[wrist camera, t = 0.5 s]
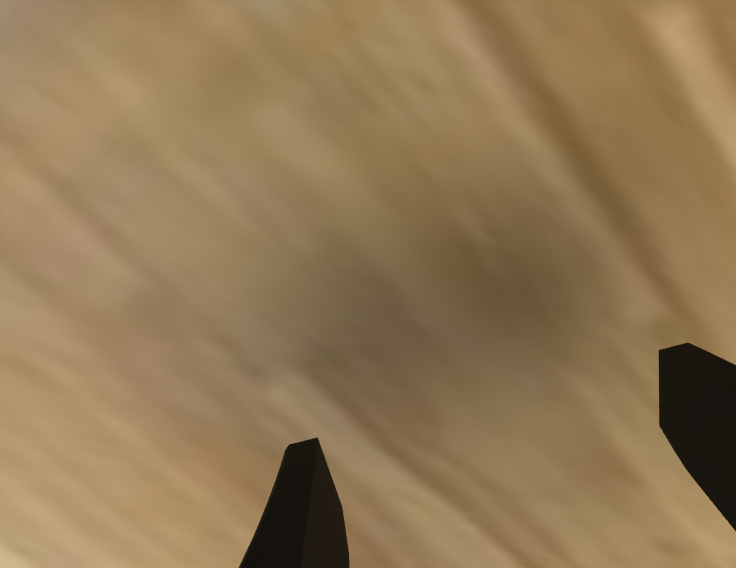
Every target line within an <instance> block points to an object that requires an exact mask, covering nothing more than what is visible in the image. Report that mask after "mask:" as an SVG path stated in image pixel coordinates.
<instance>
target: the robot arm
mask: <svg viewBox="0 0 736 568" xmlns="http://www.w3.org/2000/svg"><path fill="white" fill-rule="evenodd" d="M659 426H660V428H661V429H662V431H663V433H664V434H665V436H666V438H667V439H668V441H669V443H670V444H671V446H672V448H673V449H674V451H675V453H676V454H677V456H678V457H679V459H680V460H681V462H682V464H683V465H684V467H685V468H686V470H687V471H688V472H689V473H690V475H691V476H692V477H693V479H694V480H695V481H696V482H697V484H698V485H699V486H700V487H701V489H702V490H703V491H704V492H705V494H706V495H707V496H708V497H709V499H710V500H711V501H712V502H713V504H714V505H715V506H716V507H717V509H718V510H719V511H720V512H721V514H722V515H723V516H724V517H725V518H726V520H727V521H728V522H729V523H730V525H731V526H732V527H733V528H734V530H735V531H736V365H734V364H732V363H730V362H728V361H726V360H724V359H722V358H720V357H718V356H716V355H714V354H712V353H709V352H707V351H705V350H703V349H701V348H699V347H697V346H694V345H692V344H690V343H685V344H681V345H677V346H673V347H669V348H665V349H661V350H659ZM239 568H349V551H348V544H347V537H346V530H345V523H344V516H343V510H342V505H341V502H340V499H339V497H338V494H337V491H336V488H335V485H334V483H333V480H332V477H331V474H330V471H329V468H328V466H327V463H326V460H325V457H324V454H323V451H322V449H321V446H320V443H319V440H318V437H317V438H313V439H310V440H306V441H302V442H298V443H294V444H290V445H289V446H288V447H287V448H286V450H285V453H284V456H283V459H282V463H281V466H280V469H279V472H278V475H277V478H276V481H275V484H274V486H273V489H272V492H271V494H270V497H269V500H268V502H267V505H266V507H265V510H264V512H263V515H262V517H261V520H260V522H259V525H258V527H257V529H256V532H255V534H254V536H253V539H252V541H251V543H250V545H249V547H248V549H247V551H246V553H245V556H244V558H243V560H242V562H241V564H240V566H239Z"/></svg>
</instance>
